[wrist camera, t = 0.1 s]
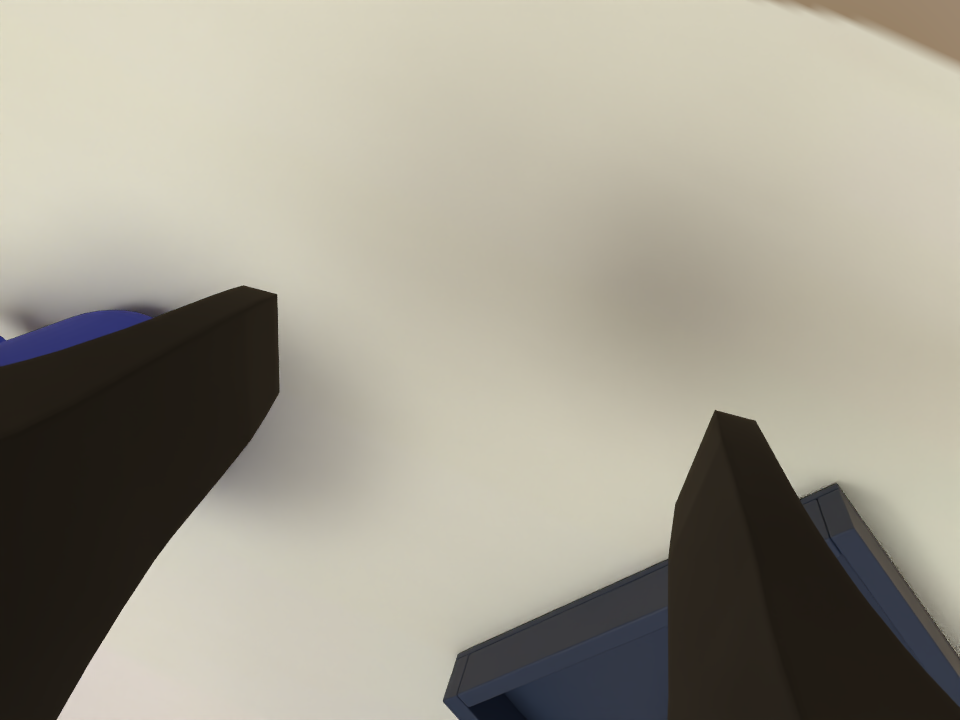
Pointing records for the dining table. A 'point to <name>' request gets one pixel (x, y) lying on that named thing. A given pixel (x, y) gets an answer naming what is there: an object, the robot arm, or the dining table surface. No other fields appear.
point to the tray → (662, 639)
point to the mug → (66, 334)
